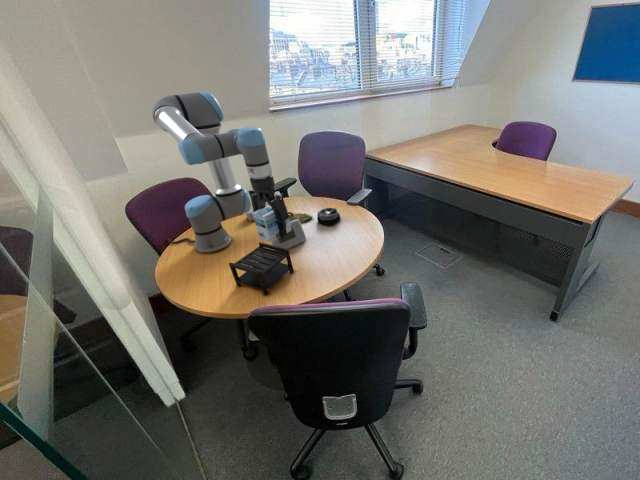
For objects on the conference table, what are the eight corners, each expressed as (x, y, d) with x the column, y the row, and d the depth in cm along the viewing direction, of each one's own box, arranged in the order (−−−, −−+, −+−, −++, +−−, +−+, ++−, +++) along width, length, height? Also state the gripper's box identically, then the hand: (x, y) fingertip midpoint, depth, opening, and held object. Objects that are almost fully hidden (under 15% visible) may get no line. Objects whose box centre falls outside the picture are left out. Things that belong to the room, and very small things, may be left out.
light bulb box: (271, 243, 112) (264, 216, 106) (258, 238, 115) (251, 212, 109) (292, 230, 119) (287, 204, 114) (280, 226, 122) (274, 201, 117)
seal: (314, 216, 171) (287, 217, 172) (313, 208, 169) (286, 209, 170) (310, 223, 163) (282, 223, 163) (309, 214, 161) (280, 215, 161)
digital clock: (275, 255, 138) (269, 234, 132) (269, 246, 145) (264, 226, 139) (309, 243, 145) (305, 223, 140) (302, 235, 152) (298, 216, 146)
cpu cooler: (341, 209, 162) (329, 217, 155) (342, 219, 165) (331, 227, 158) (326, 205, 167) (313, 213, 159) (327, 215, 170) (315, 223, 162)
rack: (237, 286, 121) (228, 263, 115) (266, 263, 133) (259, 242, 127) (266, 296, 115) (258, 272, 109) (294, 271, 127) (288, 249, 121)
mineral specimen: (253, 212, 177) (250, 202, 174) (265, 212, 177) (262, 202, 173) (242, 222, 167) (239, 212, 163) (255, 222, 166) (252, 212, 163)
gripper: (230, 176, 105) (248, 233, 118) (276, 183, 98) (290, 243, 111) (247, 169, 111) (262, 224, 123) (291, 175, 104) (303, 233, 116)
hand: (275, 233), depth 117 cm, fingers closed on light bulb box, 7 cm apart
